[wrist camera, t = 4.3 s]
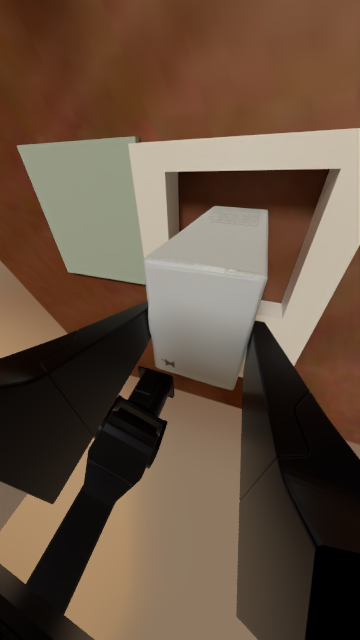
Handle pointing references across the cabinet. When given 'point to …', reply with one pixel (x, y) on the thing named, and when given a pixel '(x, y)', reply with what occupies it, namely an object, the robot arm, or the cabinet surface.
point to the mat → (90, 204)
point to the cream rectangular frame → (266, 154)
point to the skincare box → (208, 294)
